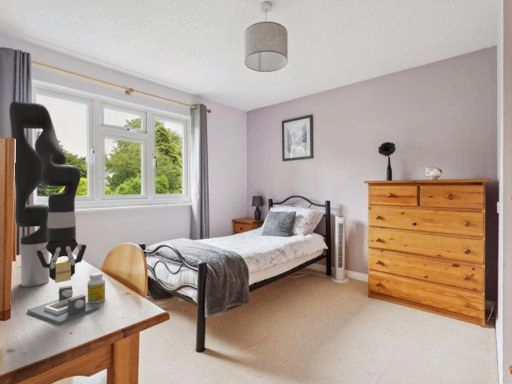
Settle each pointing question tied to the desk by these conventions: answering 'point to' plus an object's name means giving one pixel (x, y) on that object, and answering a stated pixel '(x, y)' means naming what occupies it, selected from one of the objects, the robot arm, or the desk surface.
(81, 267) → the desk surface
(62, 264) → the tan rectangular block
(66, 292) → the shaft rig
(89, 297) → the supplement bottle
